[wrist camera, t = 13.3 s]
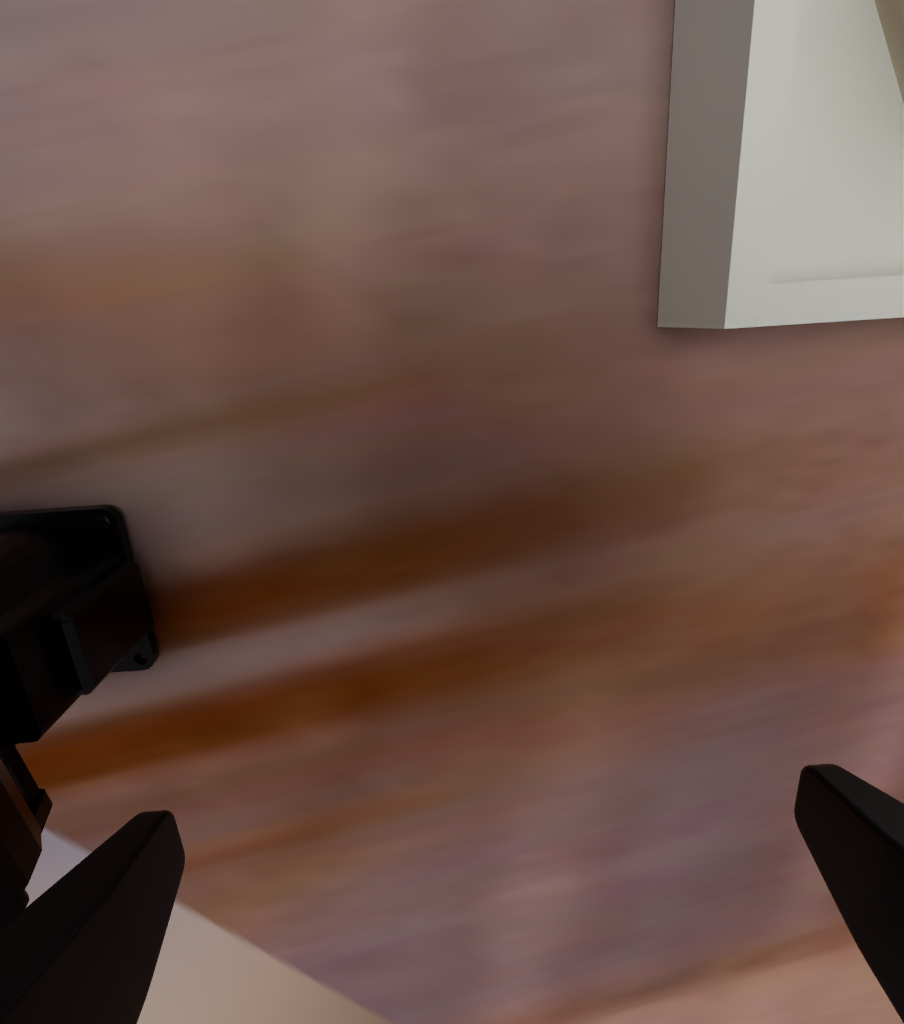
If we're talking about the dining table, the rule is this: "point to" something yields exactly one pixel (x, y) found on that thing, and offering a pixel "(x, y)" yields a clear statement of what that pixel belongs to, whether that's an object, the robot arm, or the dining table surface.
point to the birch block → (894, 34)
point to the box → (782, 166)
